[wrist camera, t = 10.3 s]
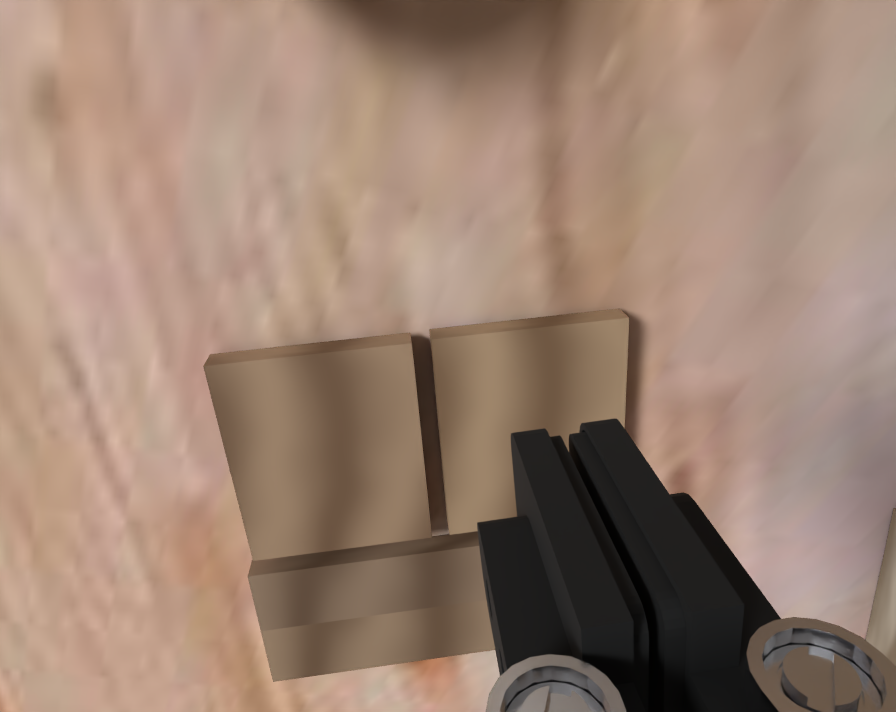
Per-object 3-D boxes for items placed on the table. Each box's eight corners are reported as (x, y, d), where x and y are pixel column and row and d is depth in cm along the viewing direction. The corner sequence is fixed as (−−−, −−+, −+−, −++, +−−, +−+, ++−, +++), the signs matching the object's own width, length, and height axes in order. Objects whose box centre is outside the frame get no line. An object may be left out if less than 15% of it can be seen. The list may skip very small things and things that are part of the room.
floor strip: (620, 511, 39) (628, 525, 38) (617, 614, 42) (625, 630, 41) (252, 560, 37) (247, 576, 36) (276, 663, 40) (273, 681, 39)
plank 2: (446, 519, 38) (449, 534, 36) (429, 329, 33) (431, 339, 32) (612, 497, 38) (621, 512, 37) (619, 308, 34) (629, 317, 32)
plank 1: (257, 544, 37) (253, 561, 36) (210, 354, 32) (203, 366, 31) (430, 521, 38) (432, 537, 36) (410, 332, 33) (411, 343, 31)
